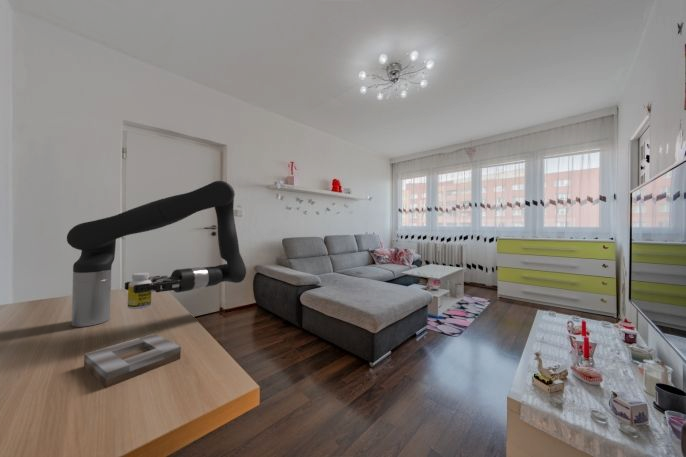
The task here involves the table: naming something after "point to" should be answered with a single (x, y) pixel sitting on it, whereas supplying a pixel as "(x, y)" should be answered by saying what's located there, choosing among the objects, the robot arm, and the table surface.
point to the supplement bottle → (141, 298)
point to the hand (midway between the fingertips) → (129, 287)
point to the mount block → (130, 358)
